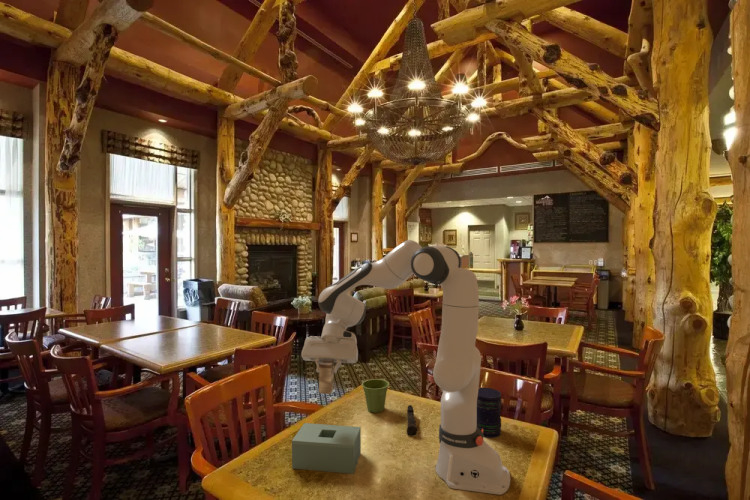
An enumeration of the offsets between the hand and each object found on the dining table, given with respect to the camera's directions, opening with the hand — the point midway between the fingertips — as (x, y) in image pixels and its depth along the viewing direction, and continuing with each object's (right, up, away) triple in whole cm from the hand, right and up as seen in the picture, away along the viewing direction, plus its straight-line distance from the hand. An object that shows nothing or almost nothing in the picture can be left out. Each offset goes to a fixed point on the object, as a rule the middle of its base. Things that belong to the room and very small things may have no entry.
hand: (326, 372), depth 134 cm
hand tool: (+31, -27, +19) cm, 45 cm away
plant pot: (+17, -27, +33) cm, 46 cm away
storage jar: (+60, -27, +13) cm, 67 cm away
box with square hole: (+1, -27, -6) cm, 28 cm away
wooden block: (0, -7, +1) cm, 7 cm away
